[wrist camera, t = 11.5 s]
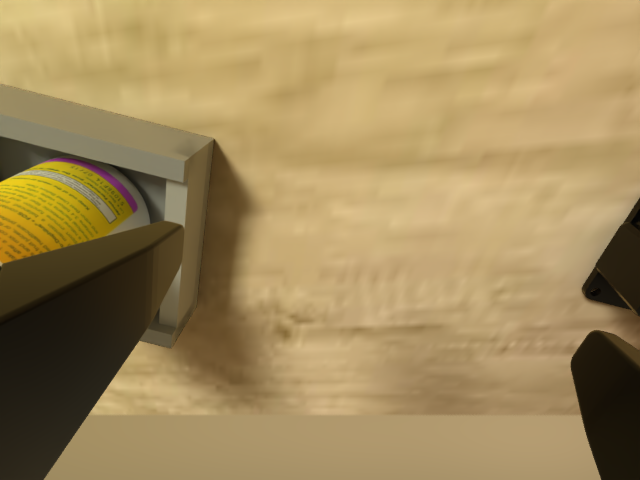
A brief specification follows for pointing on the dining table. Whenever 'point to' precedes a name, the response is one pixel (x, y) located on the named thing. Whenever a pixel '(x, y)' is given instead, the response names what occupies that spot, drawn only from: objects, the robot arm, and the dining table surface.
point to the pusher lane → (132, 161)
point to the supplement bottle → (65, 206)
